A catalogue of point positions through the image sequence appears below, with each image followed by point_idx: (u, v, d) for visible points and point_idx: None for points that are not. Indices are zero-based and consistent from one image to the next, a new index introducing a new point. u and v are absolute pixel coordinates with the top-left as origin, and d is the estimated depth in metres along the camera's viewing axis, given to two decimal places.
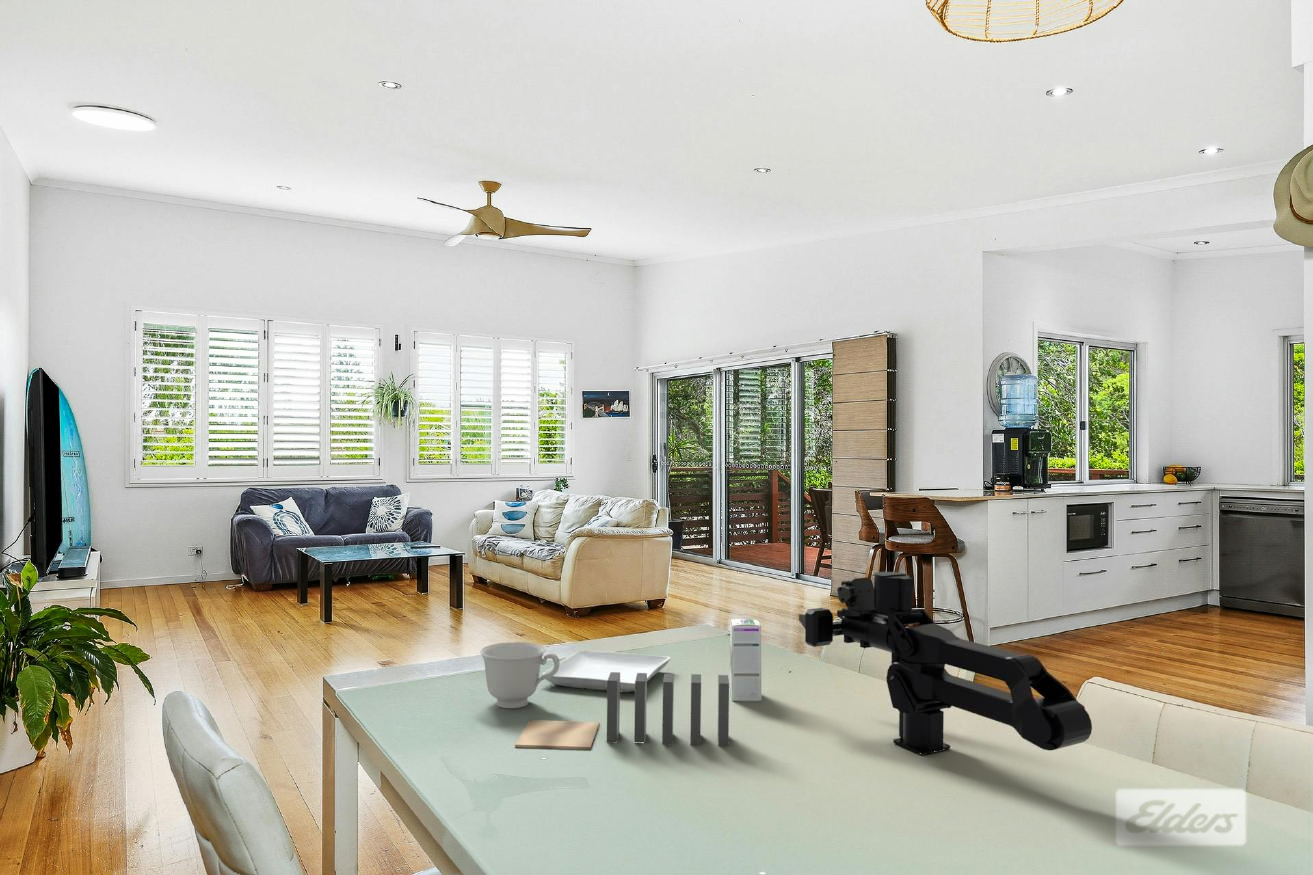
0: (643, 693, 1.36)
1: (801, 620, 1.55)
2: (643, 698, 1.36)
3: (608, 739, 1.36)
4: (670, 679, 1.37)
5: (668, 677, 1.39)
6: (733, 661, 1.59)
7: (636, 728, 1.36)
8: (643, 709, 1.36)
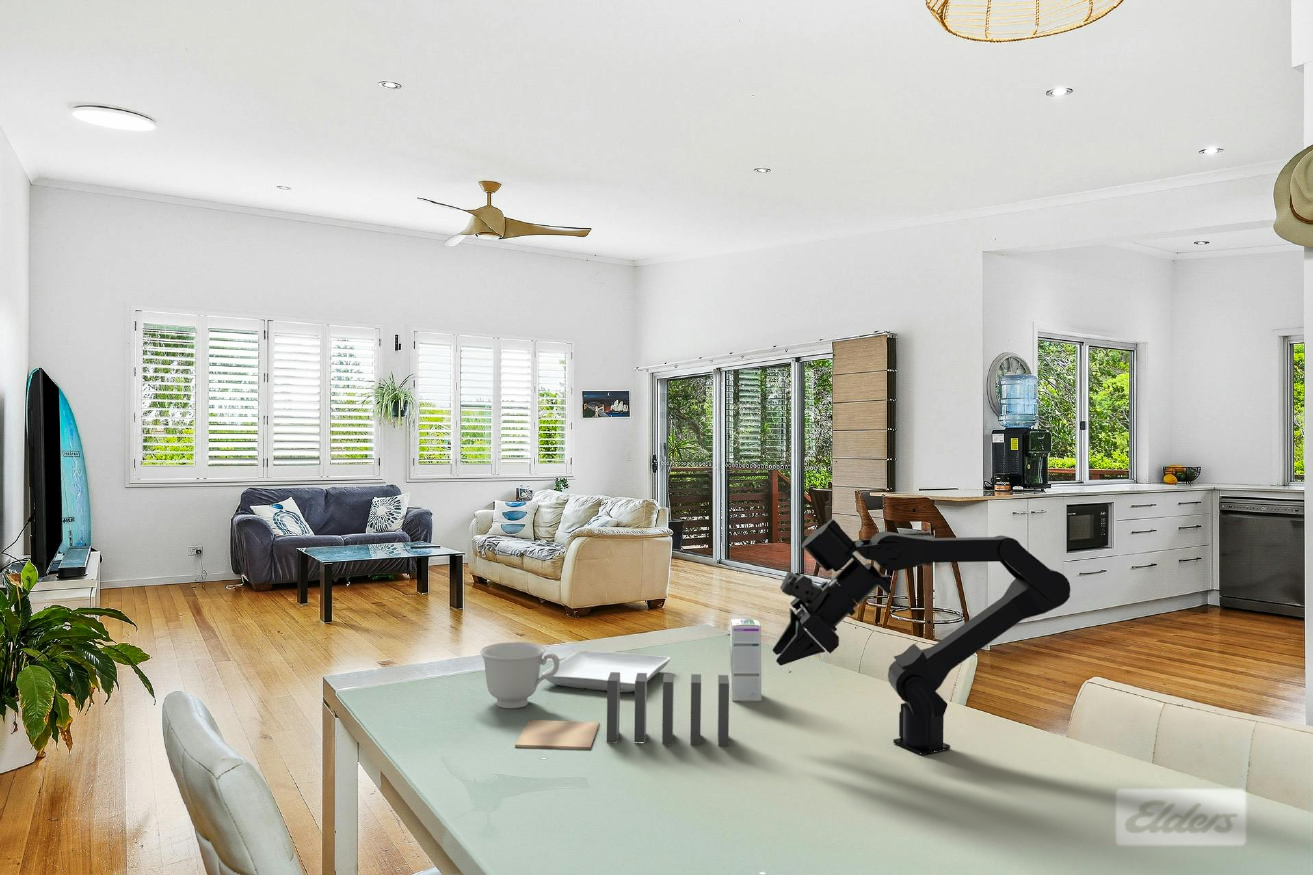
0: (643, 693, 1.36)
1: (785, 660, 1.34)
2: (643, 698, 1.36)
3: (608, 739, 1.36)
4: (670, 679, 1.37)
5: (668, 677, 1.39)
6: (733, 661, 1.59)
7: (636, 728, 1.36)
8: (643, 709, 1.36)
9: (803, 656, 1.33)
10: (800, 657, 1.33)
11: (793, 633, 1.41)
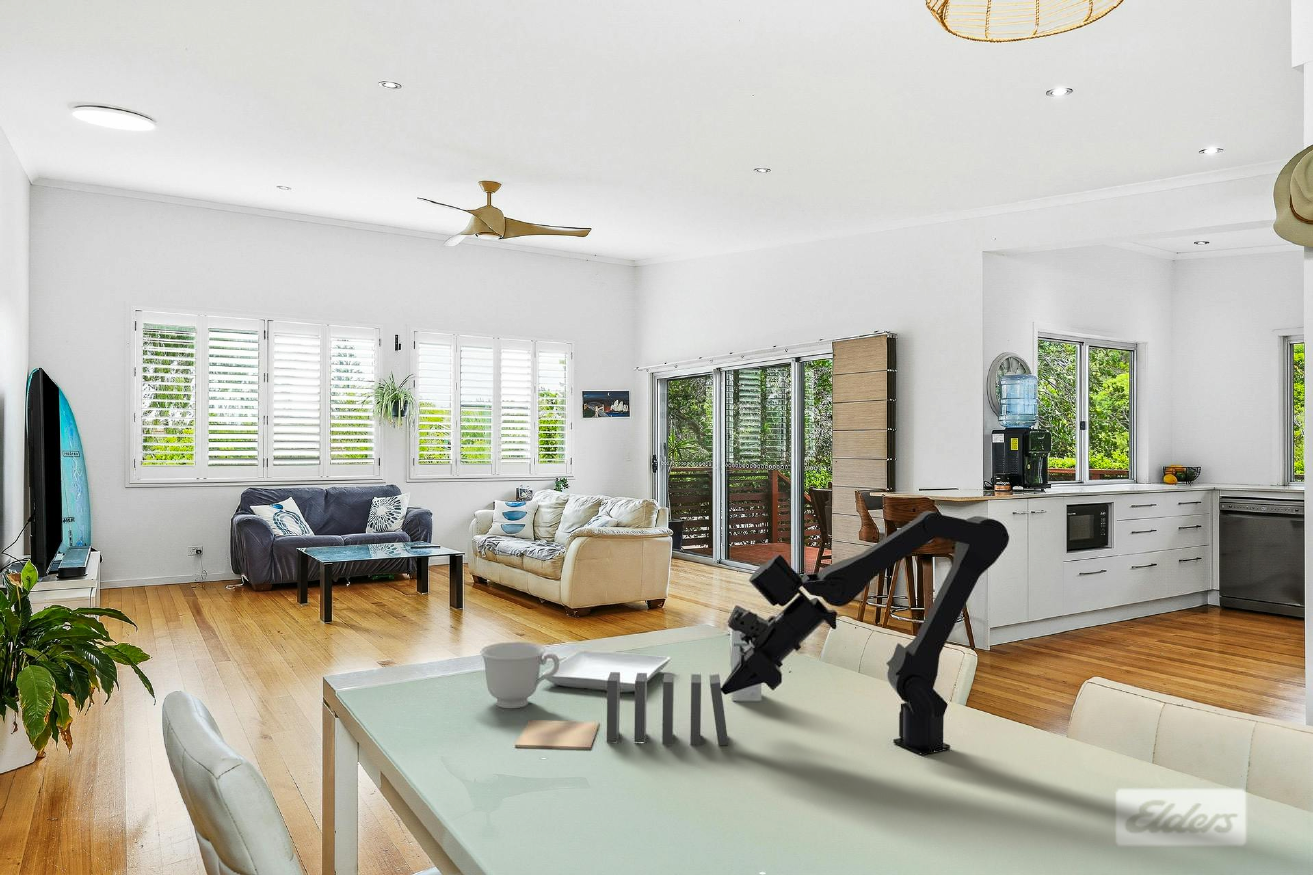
0: (643, 693, 1.36)
1: (729, 689, 1.37)
2: (643, 698, 1.36)
3: (608, 739, 1.36)
4: (670, 679, 1.37)
5: (668, 677, 1.39)
6: (733, 661, 1.59)
7: (636, 728, 1.36)
8: (643, 709, 1.36)
9: (746, 686, 1.36)
10: (744, 687, 1.37)
11: None
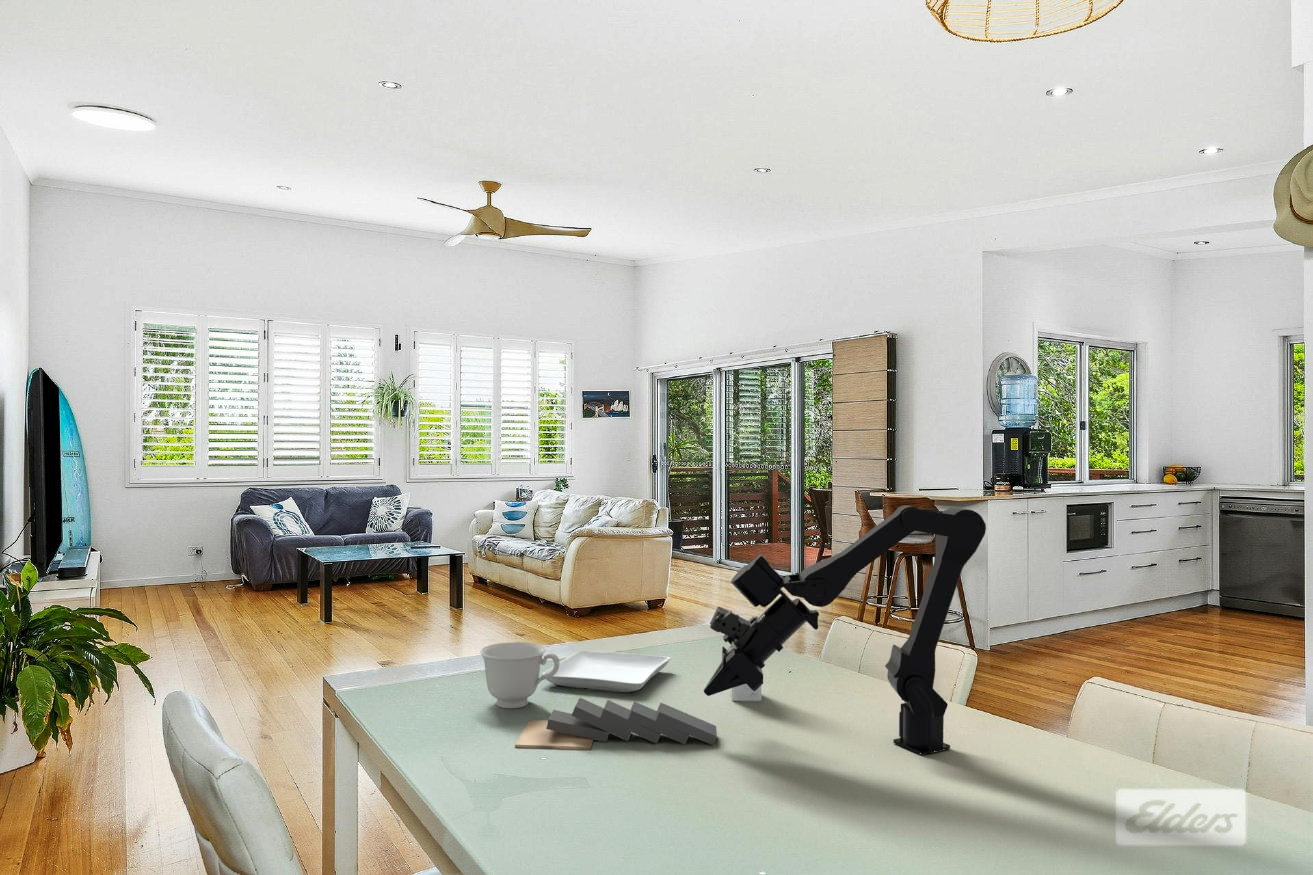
0: (585, 712, 1.37)
1: (712, 691, 1.37)
2: (590, 714, 1.37)
3: (604, 739, 1.36)
4: None
5: (604, 708, 1.40)
6: None
7: (615, 733, 1.36)
8: (600, 718, 1.37)
9: (729, 687, 1.37)
10: (726, 688, 1.37)
11: None
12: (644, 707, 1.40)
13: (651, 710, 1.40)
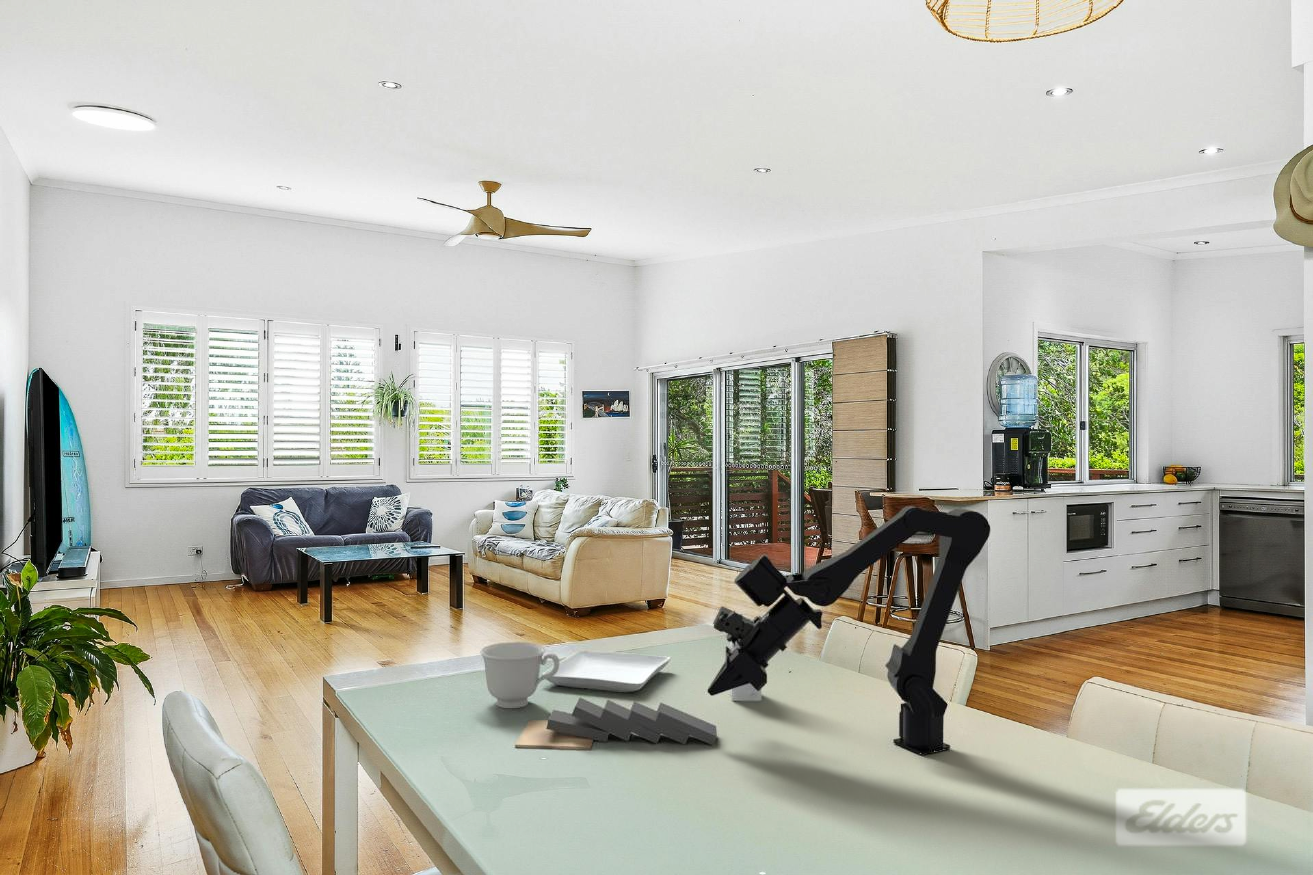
0: (585, 712, 1.37)
1: (715, 690, 1.37)
2: (590, 714, 1.37)
3: (604, 739, 1.36)
4: None
5: (604, 708, 1.40)
6: None
7: (615, 733, 1.36)
8: (600, 718, 1.37)
9: (733, 687, 1.37)
10: (730, 688, 1.37)
11: None
12: (644, 707, 1.40)
13: (651, 710, 1.40)
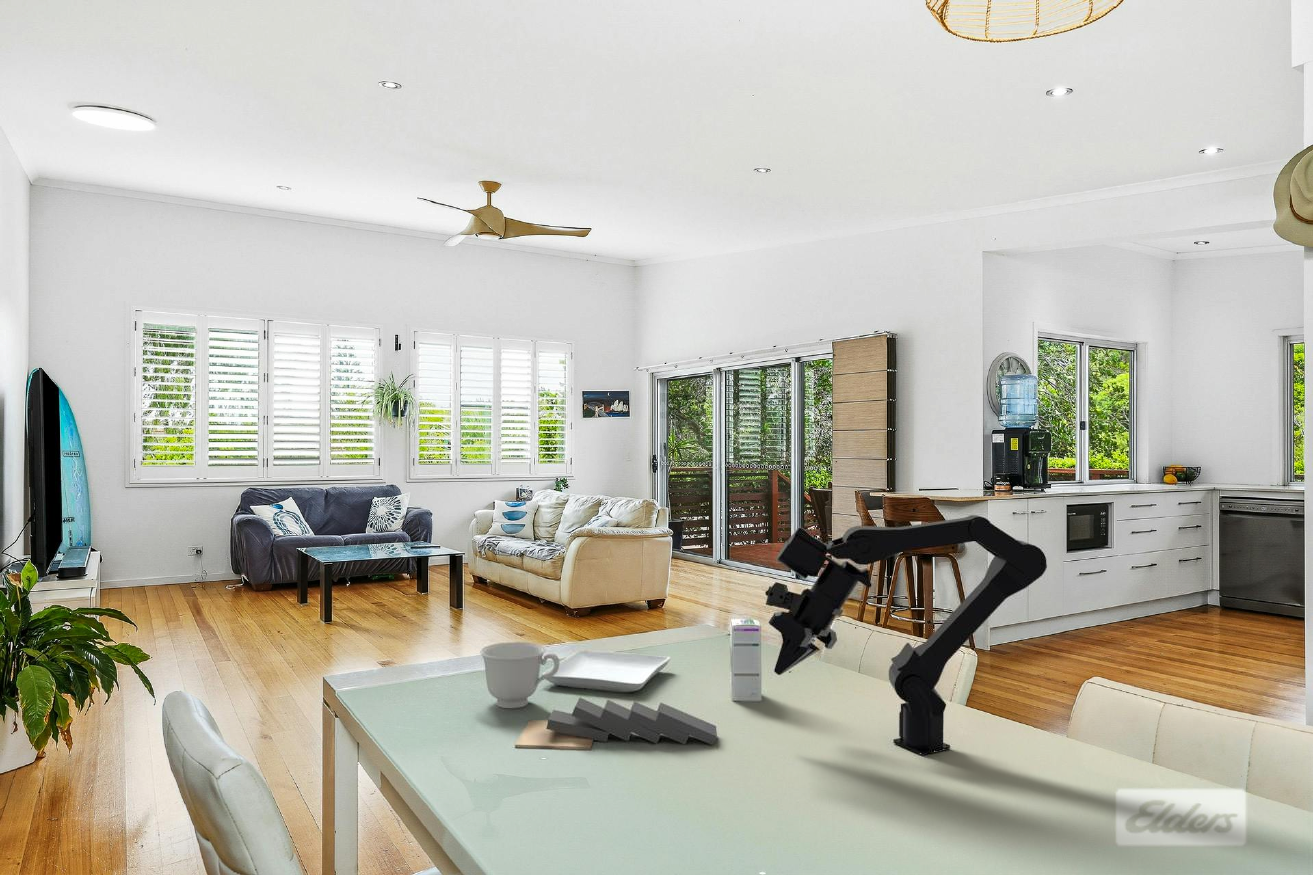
0: (585, 712, 1.37)
1: (780, 668, 1.38)
2: (590, 714, 1.37)
3: (604, 739, 1.36)
4: None
5: (604, 708, 1.40)
6: (733, 661, 1.59)
7: (615, 733, 1.36)
8: (600, 718, 1.37)
9: (794, 660, 1.37)
10: (792, 662, 1.37)
11: None
12: (644, 707, 1.40)
13: (651, 710, 1.40)
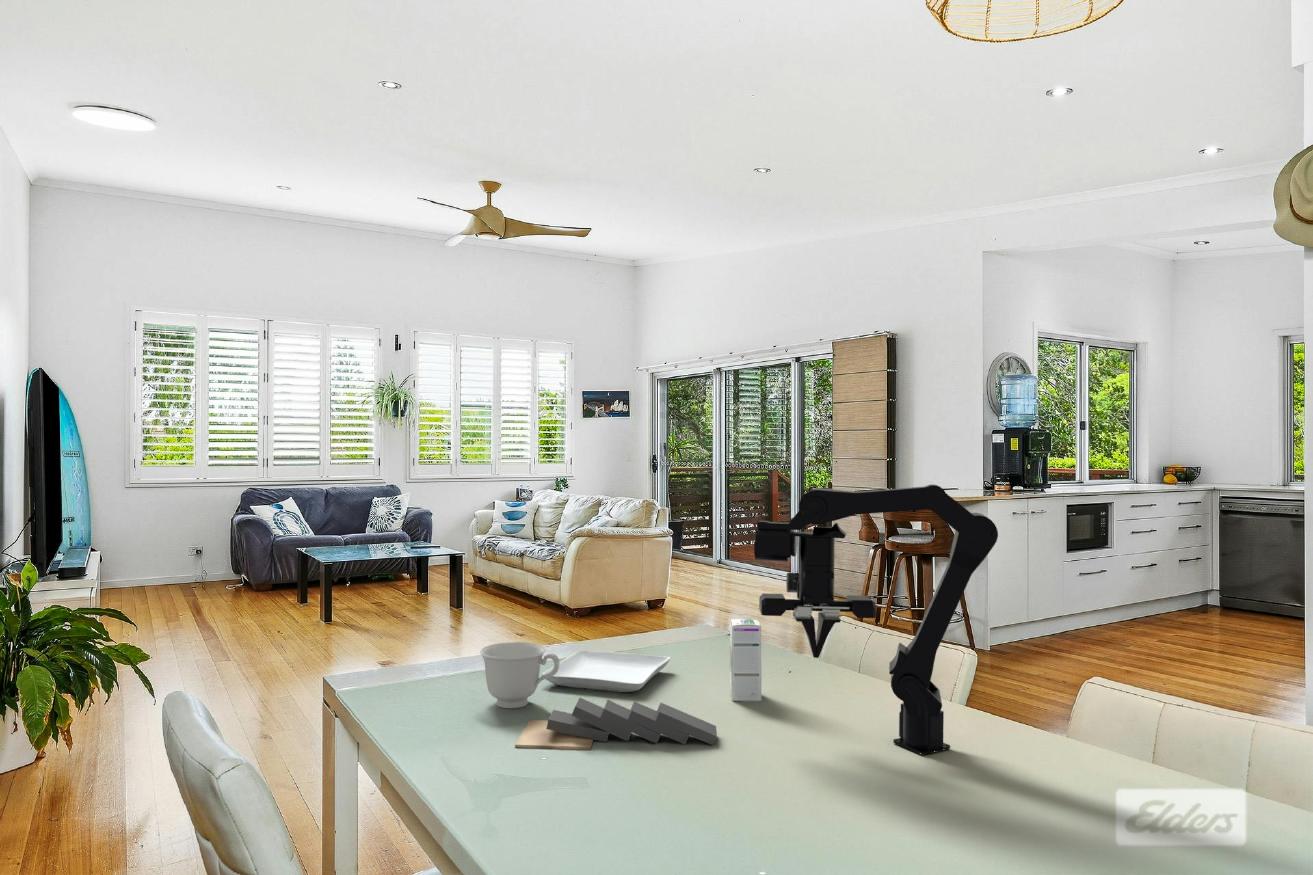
0: (585, 712, 1.37)
1: (811, 650, 1.41)
2: (590, 714, 1.37)
3: (604, 739, 1.36)
4: None
5: (604, 708, 1.40)
6: (733, 661, 1.59)
7: (615, 733, 1.36)
8: (600, 718, 1.37)
9: (808, 636, 1.40)
10: (808, 639, 1.40)
11: (818, 630, 1.41)
12: (644, 707, 1.40)
13: (651, 710, 1.40)
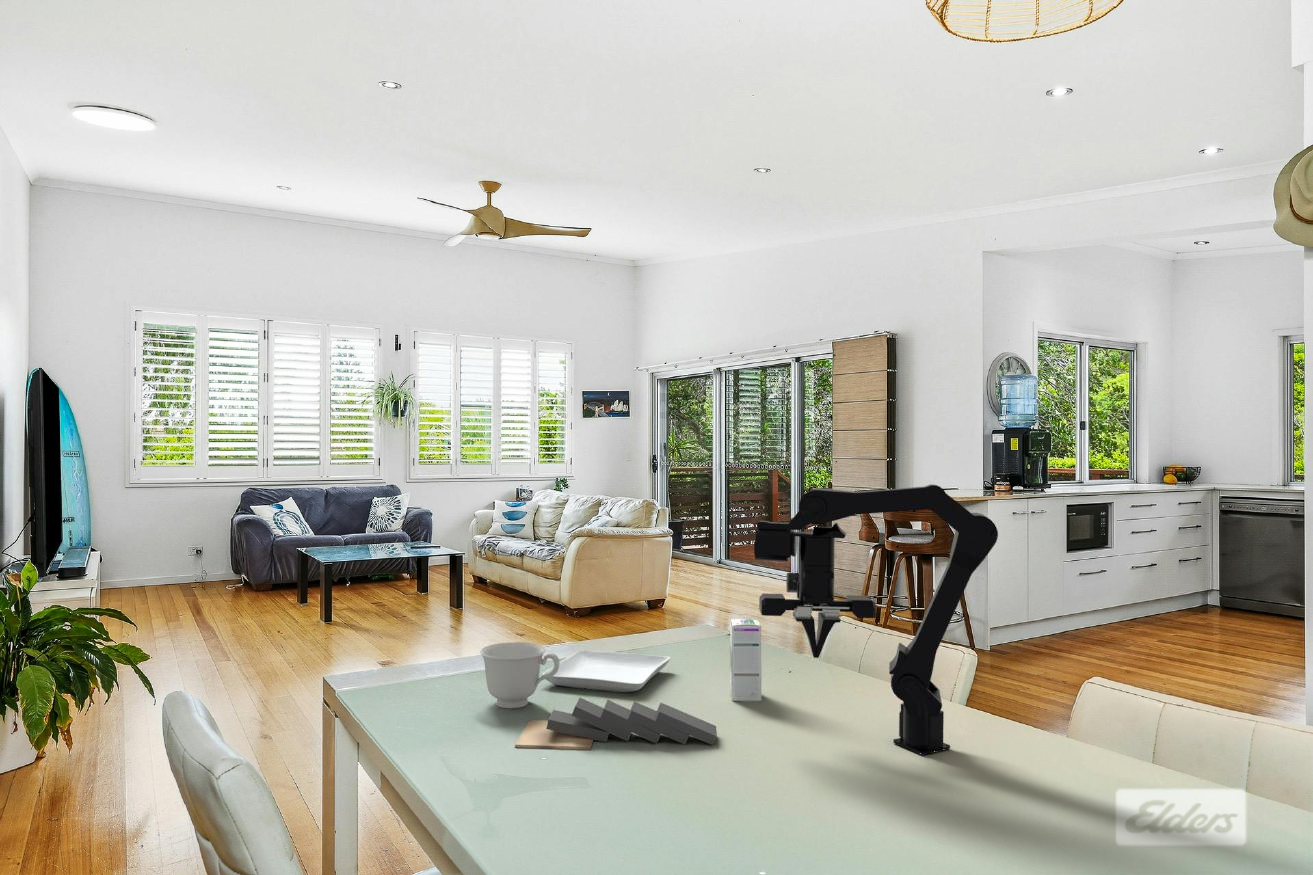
0: (585, 712, 1.37)
1: (811, 650, 1.41)
2: (590, 714, 1.37)
3: (604, 739, 1.36)
4: None
5: (604, 708, 1.40)
6: (733, 661, 1.59)
7: (615, 733, 1.36)
8: (600, 718, 1.37)
9: (808, 636, 1.40)
10: (808, 639, 1.40)
11: (818, 630, 1.41)
12: (644, 707, 1.40)
13: (651, 710, 1.40)
